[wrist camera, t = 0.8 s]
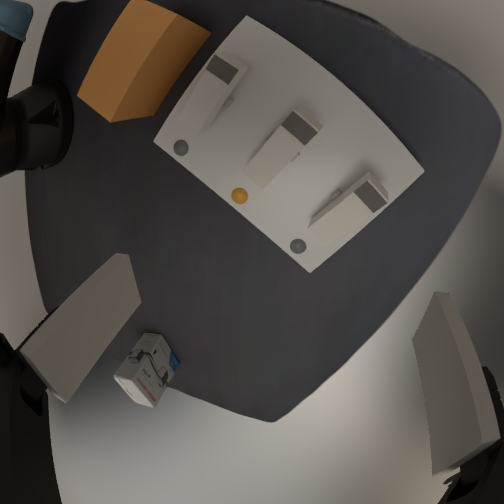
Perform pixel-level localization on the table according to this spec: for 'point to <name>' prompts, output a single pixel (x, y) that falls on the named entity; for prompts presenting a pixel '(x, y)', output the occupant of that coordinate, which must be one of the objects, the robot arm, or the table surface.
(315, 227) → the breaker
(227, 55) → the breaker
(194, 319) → the table surface
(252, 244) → the table surface
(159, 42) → the brown block
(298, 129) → the block
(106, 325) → the robot arm
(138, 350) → the ink box
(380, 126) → the panel
